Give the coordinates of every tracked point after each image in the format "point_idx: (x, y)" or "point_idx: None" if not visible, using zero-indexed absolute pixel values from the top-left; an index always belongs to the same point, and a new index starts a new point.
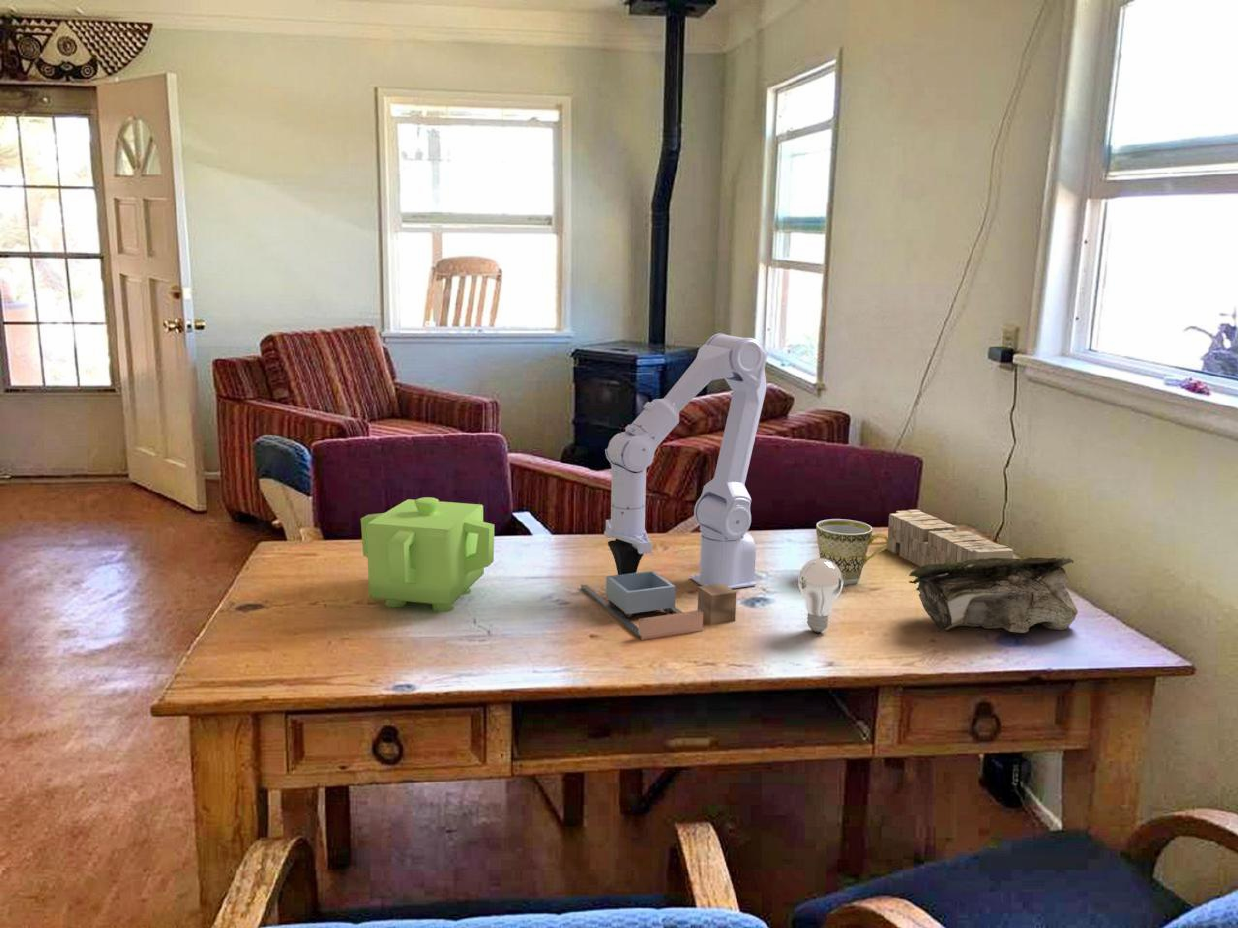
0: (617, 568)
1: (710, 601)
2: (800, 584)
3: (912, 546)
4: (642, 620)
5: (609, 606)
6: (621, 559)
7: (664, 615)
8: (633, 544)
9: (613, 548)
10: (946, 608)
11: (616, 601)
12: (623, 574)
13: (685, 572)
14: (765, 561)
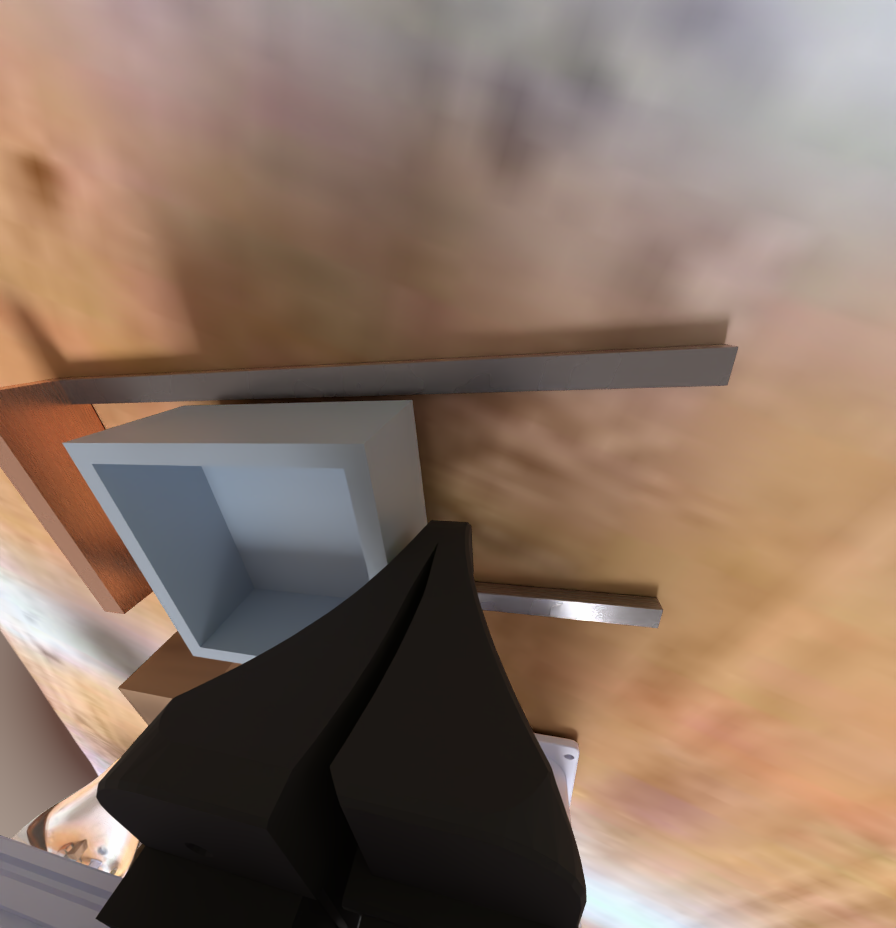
0: (451, 568)
1: (148, 664)
2: (35, 843)
3: None
4: None
5: (339, 381)
6: (293, 639)
7: (44, 502)
8: (82, 918)
9: (356, 735)
10: (137, 856)
11: (273, 408)
12: (381, 556)
13: (643, 756)
14: (609, 877)
